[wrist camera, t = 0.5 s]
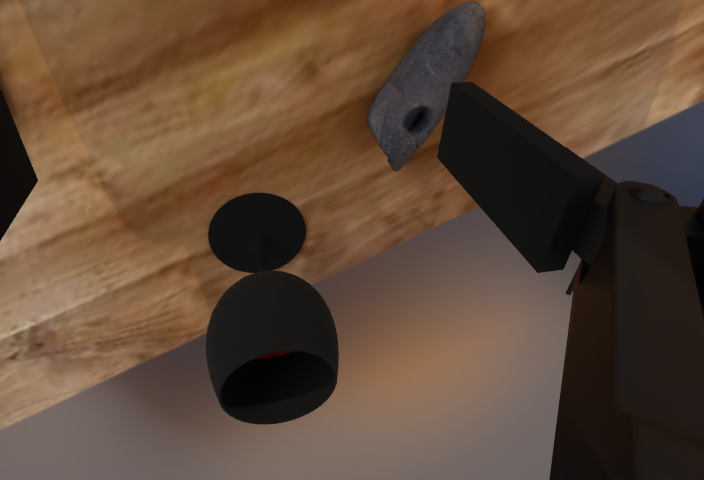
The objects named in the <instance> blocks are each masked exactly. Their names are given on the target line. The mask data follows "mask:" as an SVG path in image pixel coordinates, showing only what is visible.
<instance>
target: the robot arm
mask: <svg viewBox="0 0 704 480" xmlns="http://www.w3.org/2000/svg"><path fill="white" fill-rule="evenodd" d="M437 158H438V159H439V160H440V161H441V163H442V164H443V165H444V166H445V167H446V168H447V169H448V171H449V172H450V173H451V174H452V175H453V176H454V178H455V179H456V180H457V181H458V182H459V183H460V184H461V186H462V187H463V188H464V189H465V190H466V191H467V192H468V194H469V195H470V196H471V197H472V198H473V199H474V200H475V202H476V203H477V204H478V205H479V206H480V207H481V208H482V210H483V211H484V212H485V213H486V214H487V215H488V216H489V218H490V219H491V220H492V221H493V222H494V223H495V224H496V226H497V227H498V228H499V229H500V230H501V231H502V233H503V234H504V235H505V236H506V237H507V238H508V239H509V241H510V242H511V243H512V244H513V245H514V246H515V247H516V249H517V250H518V251H519V252H520V253H521V254H522V255H523V256H524V258H525V259H526V260H527V261H528V262H529V263H530V265H531V266H532V267H533V268H534V269H535V270H536V271H537V273H540V272H548V271H556V270H563V269H564V267H565V264H566V262H567V260H568V258H569V255H570V254H571V251H572V250H573V251H574V252H575V253H576V254H577V255H578V256H579V257H580V258H581V259H582V260H581V262H580V264H579V266H578V268H577V270H576V273H575V275H574V277H573V279H572V281H571V283H570V285H569V287H568V290H567V292H566V294H568V295H570V294H571V293H572V291H573V298H572V306H571V315H570V322H569V330H568V338H567V346H566V353H565V362H564V369H563V378H562V385H561V393H560V401H559V409H558V416H557V424H556V432H555V440H554V448H553V456H552V464H551V472H550V480H704V199H703V201H702V203H701V204H700V206H699V207H698V208H696V207H686V206H679V204H678V202H677V200H676V199H675V197H674V196H672V195H671V194H670V193H668V192H666V191H664V190H662V189H660V188H658V187H656V186H654V185H651V184H646V183H640V182H634V181H627V182H626V181H624V182H621V183H616V182H615V181H613V180H612V179H611V178H609V177H608V176H606V175H605V174H603V173H602V172H601V171H599V170H598V169H596V168H595V167H594V166H592V165H590V164H589V163H588V162H586V161H585V160H583V159H582V158H580V157H579V156H578V155H576V154H575V153H573V152H572V151H571V150H569V149H568V148H566V147H564V146H563V145H561V144H560V143H558V142H557V141H556V140H554V139H553V138H551V137H550V136H548V135H547V134H546V133H544V132H543V131H541V130H540V129H538V128H537V127H536V126H534V125H533V124H531V123H530V122H528V121H527V120H526V119H524V118H523V117H521V116H520V115H518V114H517V113H516V112H514V111H513V110H511V109H510V108H508V107H507V106H506V105H504V104H503V103H501V102H500V101H498V100H497V99H496V98H494V97H493V96H491V95H490V94H488V93H487V92H486V91H484V90H483V89H481V88H480V87H478V86H477V85H476V84H474V83H473V82H453V83H451V88H450V93H449V98H448V104H447V109H446V114H445V119H444V124H443V130H442V135H441V140H440V145H439V151H438V156H437ZM37 181H38V179H37V177H36V174H35V172H34V169H33V167H32V164H31V162H30V160H29V157H28V155H27V152H26V150H25V147H24V145H23V142H22V140H21V137H20V135H19V132H18V130H17V127H16V125H15V122H14V120H13V118H12V115H11V113H10V110H9V108H8V105H7V103H6V100H5V98H4V95H3V93H2V90H0V241H1V239H2V237H3V236H4V234H5V233H6V231H7V229H8V228H9V226H10V225H11V223H12V221H13V220H14V218H15V217H16V215H17V213H18V212H19V210H20V209H21V207H22V205H23V204H24V202H25V201H26V199H27V197H28V196H29V194H30V193H31V191H32V189H33V188H34V186H35V185H36V183H37Z"/></svg>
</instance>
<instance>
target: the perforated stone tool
mask: <svg viewBox="0 0 704 480" xmlns="http://www.w3.org/2000/svg"><path fill="white" fill-rule="evenodd" d="M484 26H485V12H484V9H483V8H482V7H480V5H479V3H477V2H467V3H463V4H460V5H458V6H456V7H455V8H453V9H451V10H450V11H448V12H447V13H445V14H444V15H442V16H441V17H440V18H439V19H437V20H436V21H435V22H434V23H433V24H432V25H431V26H430V27H429V28H428V29H427V30H426V31H425V32H424V33H423V34H422V35H421V36H420V38H419V39H418V40H417V41H416V43H415V44H414V45H413V46H412V47H411V49H410V50H409V51H408V53H407V54H406V55H405V57H404V58H403V60H402V61H401V62H400V64H399V65H398V67H397V68H396V69H395V71H394V72H393V74H392V75H391V76H390V78H389V80H388V81H387V83H386V84H385V86H384V87H383V88H382V89H381V90H380V92H379V94H378V95H377V97H376V99H375V100H374V102H373V104H372V105H371V107H370V109H369V113H368V125H369V127H370V130H371V132H372V134H373V135H374V136H375V138H376V139H377V141H378V144H379V146H380V147H381V149H382V150H383V151H384V153H385V154H386V155H387V157H388V163H390V165H391V168H392V170H394V171H396V172H397V171H398V170H400V169H401V168H402V167H403V166H404V165H405V163H406V162H407V161H408V160H409V159H410V158H411V157H412V156H413V155H414V154H415V153H416V152H417V150H418V149H419V148H420V147H421V146H422V145H423V143H424V142H425V141H426V140H427V138H428V137H429V136H430V134H431V133H432V132H433V131H434V129H435V128H436V126H437V125H438V124H439V122H440V121H441V119H442V118H443V116H444V115H445V113H446V109H447V104H448V98H449V93H450V88H451V83H453V82H464V80H465V79H466V77H467V75H468V73H469V71H470V69H471V66H472V65H473V62H474V60H475V58H476V55H477V52H478V50H479V47H480V45H481V41H482V37H483V34H484V33H483V32H484Z"/></svg>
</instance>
